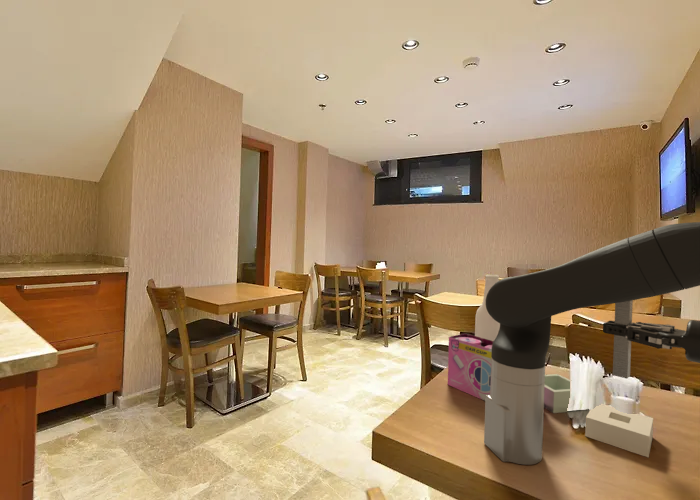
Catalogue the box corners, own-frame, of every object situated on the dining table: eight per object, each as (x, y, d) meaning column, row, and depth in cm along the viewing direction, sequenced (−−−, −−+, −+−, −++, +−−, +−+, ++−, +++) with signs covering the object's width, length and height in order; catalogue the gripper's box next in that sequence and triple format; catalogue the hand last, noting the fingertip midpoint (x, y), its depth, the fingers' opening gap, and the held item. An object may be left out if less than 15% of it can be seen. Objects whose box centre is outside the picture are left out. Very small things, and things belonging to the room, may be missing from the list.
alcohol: (483, 365, 114) (486, 273, 113) (510, 373, 107) (513, 275, 106) (468, 371, 108) (471, 274, 108) (495, 380, 102) (498, 277, 101)
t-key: (625, 380, 69) (628, 290, 69) (610, 377, 71) (613, 288, 71) (631, 373, 73) (635, 288, 73) (617, 370, 75) (620, 287, 75)
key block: (648, 457, 65) (649, 436, 65) (585, 436, 72) (585, 417, 72) (652, 437, 73) (653, 418, 73) (594, 419, 80) (595, 402, 80)
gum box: (549, 413, 82) (551, 355, 82) (531, 422, 78) (533, 361, 78) (464, 379, 102) (465, 332, 102) (446, 385, 98) (447, 336, 97)
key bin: (553, 413, 82) (554, 392, 82) (524, 394, 92) (525, 375, 92) (589, 410, 84) (590, 389, 84) (557, 392, 94) (558, 374, 94)
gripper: (727, 319, 66) (614, 305, 79) (723, 330, 57) (596, 312, 70) (725, 359, 66) (613, 338, 79) (721, 376, 57) (595, 349, 70)
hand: (605, 326), depth 74 cm, fingers closed on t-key, 2 cm apart
